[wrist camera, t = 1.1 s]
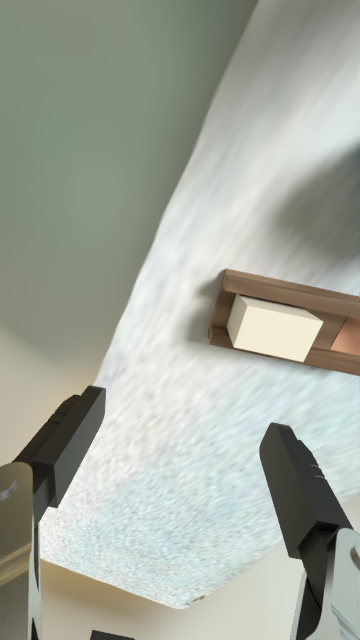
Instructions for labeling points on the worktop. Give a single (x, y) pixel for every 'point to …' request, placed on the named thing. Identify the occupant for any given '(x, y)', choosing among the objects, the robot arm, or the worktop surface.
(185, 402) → the worktop surface
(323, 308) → the walnut chute
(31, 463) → the robot arm
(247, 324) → the sand block
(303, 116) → the worktop surface
